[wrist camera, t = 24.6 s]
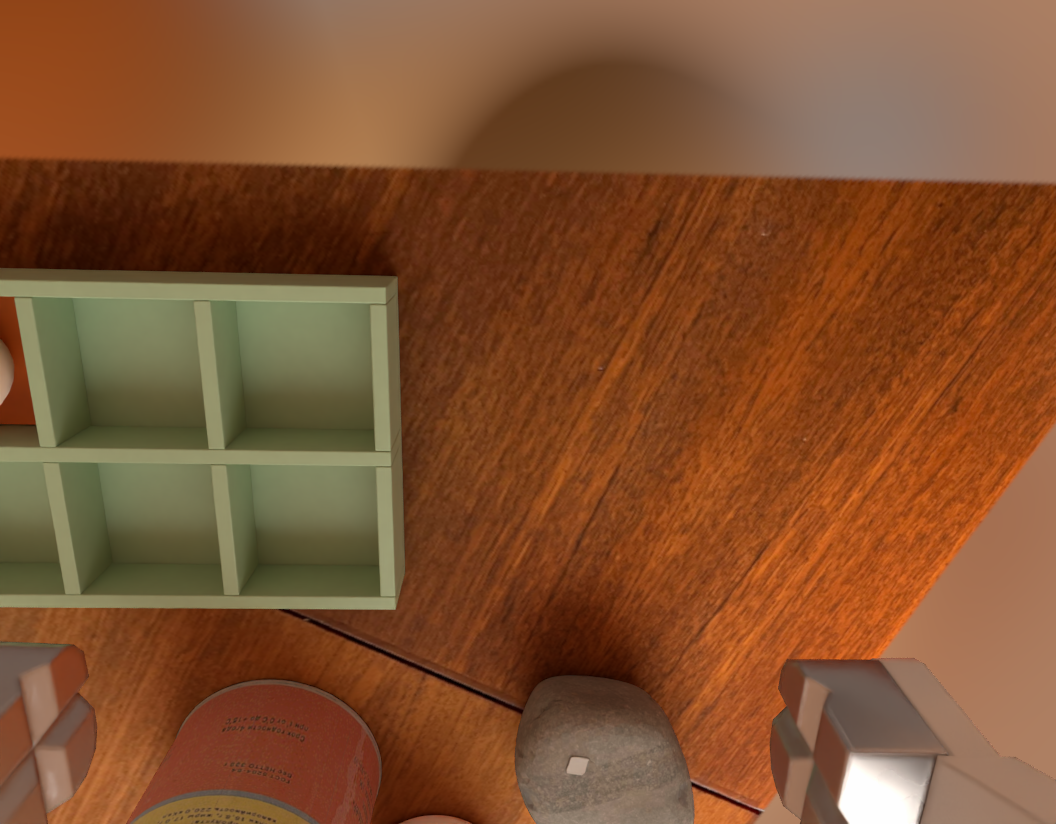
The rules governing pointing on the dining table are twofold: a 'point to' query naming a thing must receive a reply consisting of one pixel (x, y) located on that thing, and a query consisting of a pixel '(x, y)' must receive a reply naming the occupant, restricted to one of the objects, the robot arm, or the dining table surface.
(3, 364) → the egg
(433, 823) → the mug
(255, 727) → the canned food
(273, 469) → the carton
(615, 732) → the stone
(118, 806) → the dining table surface
